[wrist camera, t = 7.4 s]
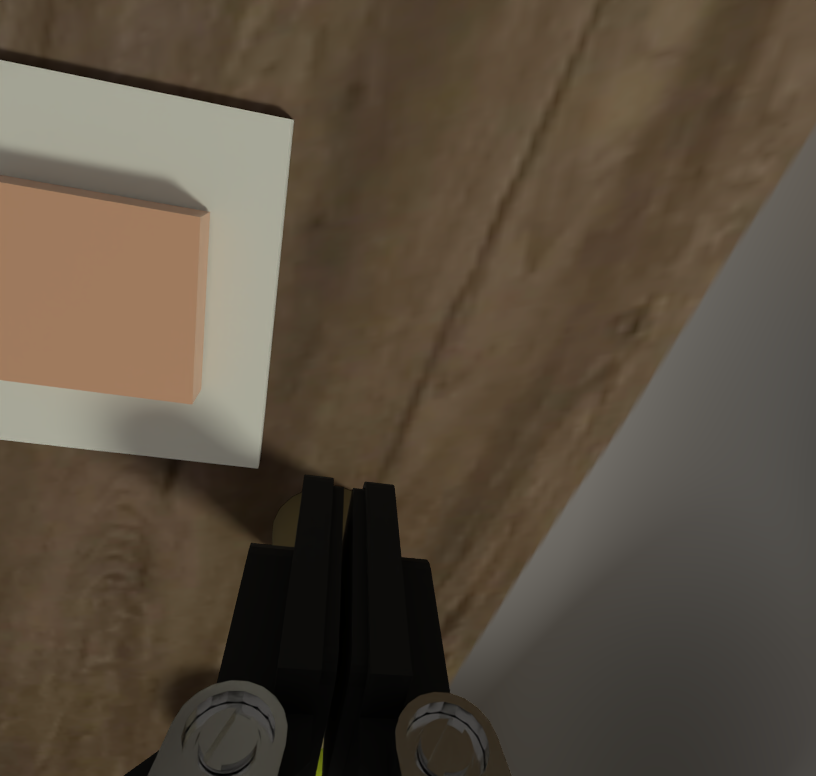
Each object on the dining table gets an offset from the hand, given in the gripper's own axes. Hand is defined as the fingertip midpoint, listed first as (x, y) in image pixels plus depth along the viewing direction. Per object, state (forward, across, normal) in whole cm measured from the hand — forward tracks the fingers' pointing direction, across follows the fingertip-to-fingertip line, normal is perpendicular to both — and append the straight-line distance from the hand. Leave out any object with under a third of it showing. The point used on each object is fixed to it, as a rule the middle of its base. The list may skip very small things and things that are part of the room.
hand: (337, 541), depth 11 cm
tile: (+15, +6, +2) cm, 16 cm away
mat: (+17, +9, +2) cm, 19 cm away
